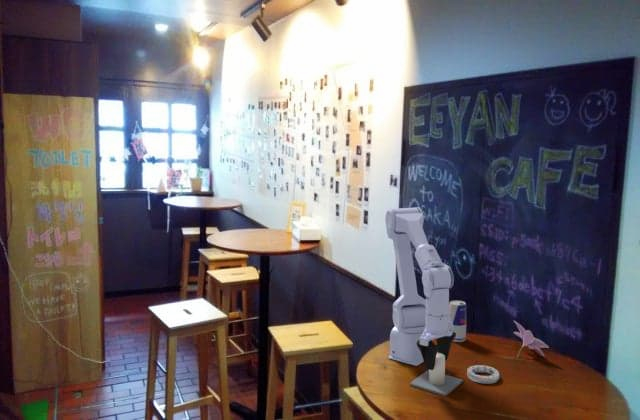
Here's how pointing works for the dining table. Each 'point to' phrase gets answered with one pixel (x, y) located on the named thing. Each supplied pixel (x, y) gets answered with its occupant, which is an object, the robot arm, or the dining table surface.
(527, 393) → the dining table surface
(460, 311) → the energy drink
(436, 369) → the peg
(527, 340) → the lily
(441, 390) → the mat
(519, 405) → the dining table surface
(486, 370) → the ring
